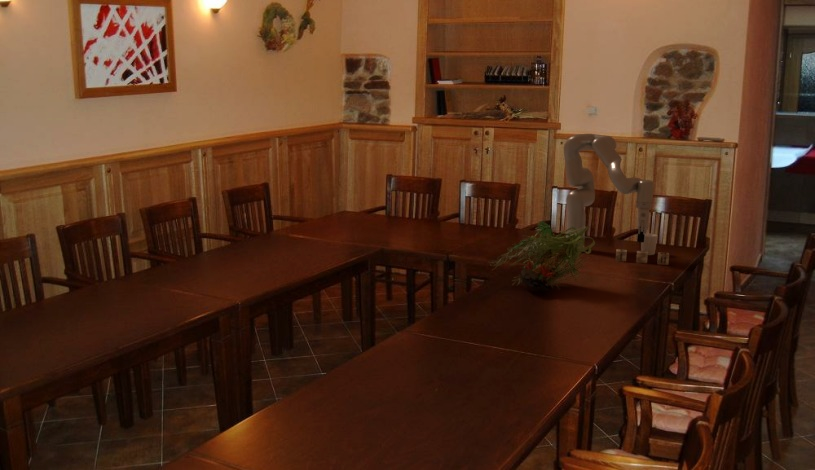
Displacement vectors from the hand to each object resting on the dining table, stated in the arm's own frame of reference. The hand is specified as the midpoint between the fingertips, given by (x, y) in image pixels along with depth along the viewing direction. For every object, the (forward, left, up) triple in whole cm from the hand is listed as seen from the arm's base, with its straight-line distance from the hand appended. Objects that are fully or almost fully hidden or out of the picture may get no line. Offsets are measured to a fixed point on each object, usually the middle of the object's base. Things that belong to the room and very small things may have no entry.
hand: (640, 241), depth 419 cm
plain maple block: (+1, -1, -10) cm, 10 cm away
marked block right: (+10, -6, -10) cm, 15 cm away
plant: (-66, -38, -10) cm, 77 cm away
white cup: (+13, +15, -10) cm, 22 cm away
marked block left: (-8, +4, -10) cm, 13 cm away
